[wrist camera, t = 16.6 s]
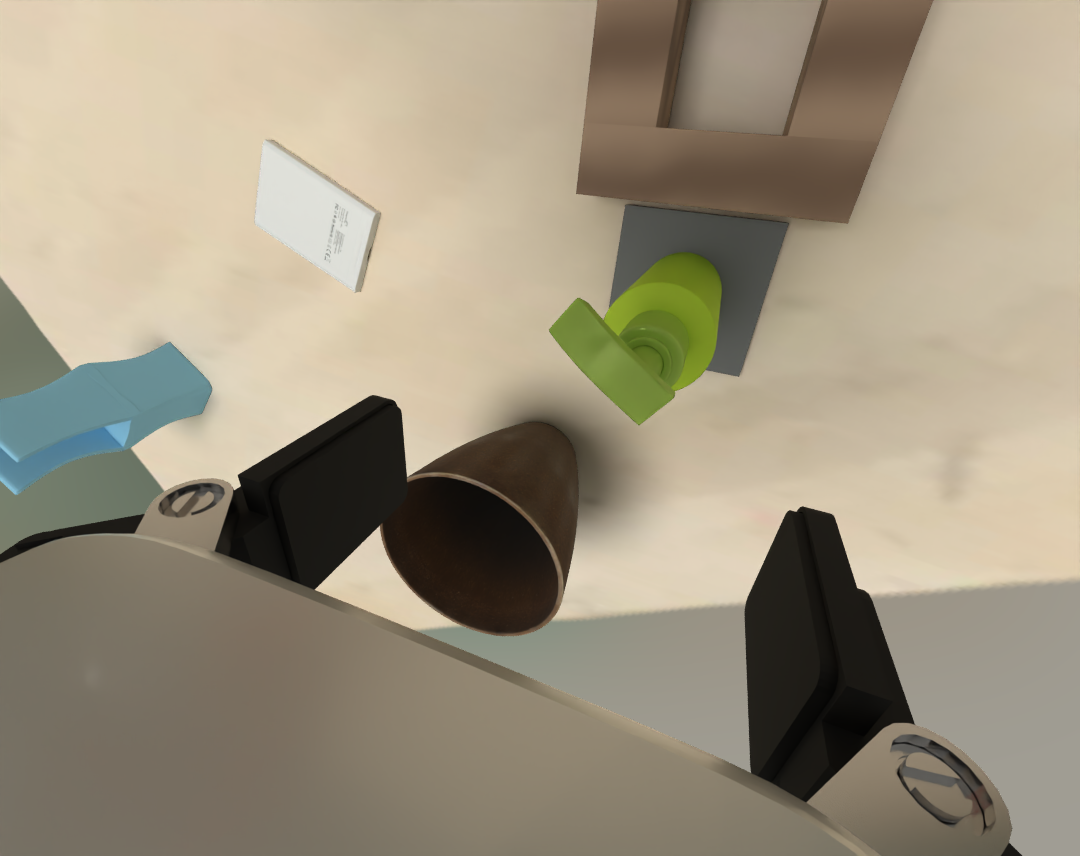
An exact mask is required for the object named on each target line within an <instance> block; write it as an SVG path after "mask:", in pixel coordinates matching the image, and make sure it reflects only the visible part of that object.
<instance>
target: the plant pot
mask: <svg viewBox="0 0 1080 856" xmlns="http://www.w3.org/2000/svg"><path fill="white" fill-rule="evenodd" d="M407 485H408V492H407V496H406V498H405V500H404V502H403V503H402V504H401V505H400V506H399V507H398V508H397V509H396V510H395V511H394V512H393V513H392V514H391V515H390V516H389V517H388V518H387V519H386V520H385V521H384V522H383V523H382V524H381V525H380V531H381V537H382V541H383V545H384V548H385V550H386V553H387V555H388V557H389V559H390V561H391V563H392V565H393V567H394V568H395V570H396V571H397V573H398V574H399V575H400V577H401V578H402V580H403V581H404V582H405V583H406V584H407V586H408V587H409V588H410V589H411V590H412V591H413V592H414V593H415V594H416V595H417V596H418V597H419V598H420V599H421V600H423V601H424V602H425V603H426V604H427V605H429V606H430V607H431V608H433V609H434V610H435V611H437V612H438V613H440V614H441V615H443V616H445V617H446V618H448V619H450V620H452V621H453V622H455V623H457V624H460V625H462V626H464V627H466V628H469V629H472V630H475V631H478V632H482V633H486V634H491V635H496V636H519V635H524V634H528V633H531V632H534V631H536V630H538V629H540V628H542V627H543V626H545V625H546V624H547V623H549V622H550V621H551V620H552V618H553V617H554V616H555V615H556V613H557V611H558V610H559V608H560V605H561V602H562V598H563V594H564V590H565V586H566V582H567V578H568V573H569V569H570V564H571V559H572V554H573V549H574V542H575V535H576V527H577V516H578V498H579V488H578V470H577V462H576V456H575V451H574V449H573V446H572V444H571V443H570V441H569V440H568V438H567V437H566V436H565V435H564V434H563V433H562V432H560V431H559V430H558V429H556V428H555V427H553V426H551V425H548V424H544V423H540V422H529V423H524V424H519V425H515V426H512V427H508V428H504V429H501V430H498V431H495V432H492V433H490V434H487V435H485V436H482V437H480V438H477V439H475V440H473V441H471V442H468V443H466V444H464V445H462V446H460V447H458V448H456V449H454V450H452V451H450V452H449V453H447V454H445V455H443V456H441V457H440V458H438V459H436V460H434V461H433V462H431V463H430V464H428V465H426V466H425V467H423V468H422V469H420V470H418V471H417V472H415V473H413V474H412V475H410V476H409V477H407Z"/></svg>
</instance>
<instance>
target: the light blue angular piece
mask: <svg viewBox="0 0 1080 856" xmlns="http://www.w3.org/2000/svg"><path fill="white" fill-rule="evenodd" d="M211 391H212V387H211V385H210V383H209V381H208V380H207V379H206V378H205V377H204V376H203V375H202V374H201V373H200V372H199V371H198V370H197V369H196V368H195V367H194V366H193V365H192V364H191V363H190V362H189V361H188V360H187V359H186V358H185V357H184V356H183V355H182V354H181V353H180V352H179V351H178V350H177V349H176V348H175V347H174V346H173V345H172V344H171V343H170V342H168V343H167V344H165V345H163V346H161V347H160V348H158V349H156V350H154V351H152V352H150V353H147V354H145V355H142V356H139V357H136V358H132V359H127V360H121V361H113V362H99V363H88V364H84V365H80V366H78V367H77V368H75V369H74V370H72V371H71V372H69V373H67V374H66V375H64V376H63V377H61V378H59V379H58V380H56V381H54V382H52V383H50V384H48V385H46V386H44V387H42V388H39V389H37V390H34V391H32V392H29V393H26V394H22V395H18V396H15V397H10V398H4V399H0V481H1V482H2V483H3V484H4V485H5V486H7V487H8V488H9V489H10V490H11V491H12V492H13V493H14V494H15V495H17V494H19V493H21V492H22V491H23V490H25V489H26V488H28V487H29V486H30V485H32V484H33V483H34V482H36V481H37V480H39V479H40V478H42V477H43V476H45V475H46V474H48V473H50V472H51V471H53V470H55V469H56V468H59V467H61V466H62V465H65V464H67V463H69V462H71V461H74V460H77V459H80V458H83V457H86V456H91V455H95V454H102V453H108V452H117V451H124V450H126V449H128V448H131V447H132V446H134V445H135V444H137V443H138V442H139V441H141V440H142V439H144V438H145V437H146V436H148V435H149V434H151V433H153V432H154V431H156V430H157V429H159V428H161V427H163V426H165V425H167V424H169V423H171V422H174V421H177V420H180V419H183V418H187V417H190V416H195V415H199V414H202V412H203V410H204V408H205V405H206V403H207V401H208V398H209V396H210V394H211Z"/></svg>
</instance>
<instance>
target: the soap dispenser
mask: <svg viewBox="0 0 1080 856" xmlns="http://www.w3.org/2000/svg"><path fill="white" fill-rule="evenodd" d="M721 294H722V285H721V280H720V277H719V274H718V272H717V270H716V269H715V267H714V266H713V265H712V264H711V263H710V262H709V261H708V260H707V259H705V258H704V257H702V256H700V255H697V254H694V253H689V252H679V253H674V254H670V255H668V256H665V257H663V258H662V259H660V260H659V261H657V262H656V263H655V264H654V265H653V266H652V267H651V268H650V269H649V270H647V271H646V272H645V273H644V274H643V275H642V276H641V277H640V278H639V279H638V280H637V281H636V282H635V283H634V284H633V285H631V286H630V287H629V288H628V289H627V290H626V291H625V292H624V293H623V294H622V295H621V296H620V297H619V298H618V299H617V300H616V301H615V302H614V303H613V304H612V306H611V307H610V308H609V310H608V312H607V313H606V316H605V318H604V320H603V319H602V318H601V317H600V316H599V315H598V314H597V313H596V311H595V310H594V309H593V308H592V307H591V306H590V304H589V303H587V302H586V301H584V300H582V299H580V298H577V299H576V300H575V301H574V302H573V303H572V304H571V305H570V306H569V308H568V309H567V310H566V311H565V312H564V313H563V314H562V315H561V316H560V318H559V319H558V320H557V321H556V322H555V323H554V324H553V325H552V327H551V328H550V329H549V332H550V333H551V335H552V336H553V337H554V339H555V340H556V341H557V342H558V344H559V345H560V346H561V347H562V349H563V350H564V351H565V352H566V353H567V355H568V356H569V357H570V358H571V359H572V361H573V362H574V363H575V364H576V365H577V366H578V367H579V368H580V369H581V371H582V372H583V373H584V374H585V375H586V376H587V377H588V378H589V379H590V380H591V381H592V382H593V383H594V384H595V385H596V386H597V387H598V388H599V389H600V390H601V391H602V392H603V393H604V394H605V395H606V396H607V397H609V398H610V399H611V400H612V401H613V402H614V403H615V404H616V405H617V406H618V407H619V408H620V409H621V410H622V411H624V412H625V413H626V414H627V415H628V416H629V417H630V418H631V419H632V420H633V421H634V422H636V423H637V424H638V425H640V424H641V423H643V422H644V421H645V420H647V419H648V418H649V417H650V416H652V415H653V414H654V413H655V412H657V411H658V410H659V409H660V408H662V407H663V406H664V405H666V404H667V403H668V402H669V401H671V400H672V399H673V398H674V396H675V391H677V390H679V389H682V388H684V387H686V386H688V385H689V384H691V383H693V382H694V381H695V380H696V379H698V378H699V377H700V376H701V375H702V374H703V372H704V371H705V370H706V369H707V367H708V365H709V364H710V362H711V360H712V358H713V355H714V352H715V348H716V341H717V332H718V322H719V313H720V303H721Z"/></svg>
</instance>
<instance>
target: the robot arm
mask: <svg viewBox="0 0 1080 856" xmlns="http://www.w3.org/2000/svg"><path fill="white" fill-rule="evenodd" d="M238 478H239V481H240V484H241V487H239V488H237V489H236V490H234V489H233V487H232V486H231V484H230V483H228V482H226V481H224V480H220V479H213V478H211V479H198V480H193V481H188V482H185V483H182V484H179V485H176V486H174V487H172V488H170V489H168V490H166V491H164V492H163V493H162V494H160V495H159V496H158V497H156V498H155V499H154V501H153V502H152V503H151V504H150V506H149V508H148V510H147V511H146V513H145V514H142V515H136V516H131V517H125V518H119V519H114V520H108V521H103V522H97V523H91V524H86V525H80V526H75V527H69V528H64V529H58V530H54V531H48V532H42V533H38V534H34V535H32V536H29V537H27V538H25V539H23V540H21V541H19V542H18V543H16V544H15V545H14V546H12V547H10V548H9V549H8V550H6V551H4V552H3V553H2V554H0V856H1022V855H1021V854H1020V853H1019V852H1018V851H1017V850H1016V849H1015V848H1014V847H1013V846H1012V845H1011V844H1010V843H1009V840H1010V836H1011V832H1012V825H1011V821H1010V816H1009V811H1008V809H1007V807H1006V805H1005V803H1004V801H1003V799H1002V797H1001V795H1000V793H999V791H998V790H997V788H996V787H995V786H994V784H993V783H992V782H991V780H990V779H989V778H988V776H987V775H986V774H985V773H984V771H983V770H982V769H981V768H980V767H979V766H978V765H977V764H976V763H975V762H974V761H973V760H972V759H971V758H970V757H969V756H968V755H967V754H965V753H964V752H963V751H962V750H961V749H959V748H958V747H956V746H955V745H954V744H952V743H951V742H950V741H948V740H947V739H945V738H944V737H942V736H940V735H938V734H936V733H934V732H932V731H930V730H928V729H926V728H923V727H920V726H917V725H915V724H914V721H913V718H912V715H911V712H910V709H909V706H908V703H907V700H906V697H905V694H904V692H903V689H902V686H901V683H900V680H899V677H898V674H897V672H896V668H895V665H894V663H893V660H892V657H891V654H890V651H889V648H888V645H887V642H886V639H885V636H884V634H883V631H882V628H881V625H880V622H879V619H878V616H877V613H876V610H875V607H874V604H873V601H872V599H871V597H870V595H869V594H868V593H867V592H866V591H864V590H861V589H858V588H857V586H856V583H855V580H854V577H853V573H852V570H851V567H850V564H849V561H848V558H847V555H846V551H845V548H844V545H843V542H842V539H841V536H840V533H839V529H838V526H837V523H836V520H835V517H834V516H833V515H832V514H830V513H826V512H822V511H818V510H814V509H810V508H806V507H803V506H802V507H800V508H799V509H798V510H797V512H794V511H791V510H789V511H788V512H787V513H786V515H785V517H784V519H783V521H782V523H781V526H780V528H779V530H778V532H777V534H776V537H775V539H774V541H773V543H772V545H771V547H770V550H769V552H768V554H767V556H766V558H765V561H764V563H763V565H762V567H761V569H760V572H759V574H758V576H757V578H756V580H755V583H754V585H753V587H752V589H751V591H750V593H749V596H748V598H747V601H746V606H745V636H746V637H745V638H746V664H747V690H748V715H749V716H748V717H749V741H750V742H749V743H750V767H751V773H750V772H747V771H746V770H743V769H741V768H739V767H737V766H735V765H733V764H731V763H729V762H727V761H725V760H723V759H721V758H718V757H716V756H714V755H712V754H709V753H707V752H705V751H702V750H700V749H698V748H695V747H693V746H691V745H689V744H686V743H684V742H682V741H679V740H677V739H674V738H672V737H670V736H667V735H665V734H663V733H661V732H658V731H656V730H654V729H652V728H649V727H647V726H645V725H642V724H640V723H638V722H635V721H633V720H630V719H628V718H626V717H624V716H621V715H619V714H616V713H614V712H611V711H609V710H607V709H604V708H602V707H600V706H597V705H595V704H592V703H590V702H587V701H585V700H582V699H580V698H578V697H575V696H573V695H571V694H568V693H565V692H563V691H561V690H558V689H556V688H554V687H551V686H549V685H546V684H544V683H542V682H539V681H537V680H534V679H532V678H529V677H527V676H525V675H522V674H520V673H517V672H515V671H512V670H510V669H508V668H505V667H503V666H500V665H498V664H496V663H493V662H491V661H488V660H486V659H483V658H481V657H478V656H476V655H474V654H471V653H469V652H466V651H464V650H461V649H459V648H456V647H454V646H452V645H449V644H447V643H444V642H442V641H439V640H437V639H434V638H432V637H429V636H427V635H425V634H422V633H420V632H417V631H415V630H412V629H410V628H407V627H405V626H402V625H400V624H398V623H395V622H393V621H390V620H388V619H385V618H383V617H380V616H378V615H375V614H373V613H370V612H368V611H366V610H363V609H361V608H358V607H356V606H353V605H351V604H348V603H346V602H343V601H341V600H338V599H336V598H333V597H331V596H328V595H326V594H323V593H321V592H318V591H316V590H315V589H316V588H317V587H318V586H319V585H320V584H321V583H322V582H323V581H324V580H325V579H326V578H327V577H328V576H329V575H330V574H331V573H332V572H333V571H334V570H335V569H336V568H337V567H338V566H339V565H340V564H341V563H342V562H343V561H344V560H345V559H346V558H347V557H348V556H349V555H350V554H351V553H352V552H353V551H354V550H355V549H356V548H357V547H358V546H359V545H360V544H361V543H362V542H363V541H364V540H365V539H366V538H367V537H369V536H370V535H371V534H372V533H373V532H374V531H375V530H376V529H377V528H378V527H379V526H380V525H381V524H382V523H383V522H384V521H385V520H386V519H387V518H388V517H389V516H390V515H391V514H392V513H393V512H394V511H395V510H396V509H397V508H398V507H399V506H400V505H401V504H402V503H403V502H404V500H405V498H406V496H407V492H408V485H407V473H406V461H405V449H404V436H403V424H402V413H401V410H400V408H399V407H397V404H396V402H395V401H393V400H391V399H387V398H383V397H379V396H375V395H372V396H369V397H367V398H366V399H364V400H362V401H361V402H359V403H357V404H356V405H354V406H352V407H351V408H349V409H347V410H346V411H344V412H342V413H341V414H339V415H337V416H336V417H334V418H332V419H331V420H329V421H327V422H326V423H324V424H322V425H321V426H319V427H317V428H316V429H314V430H312V431H311V432H309V433H307V434H306V435H304V436H302V437H300V438H299V439H297V440H295V441H294V442H292V443H290V444H289V445H287V446H285V447H284V448H282V449H280V450H279V451H277V452H275V453H274V454H272V455H270V456H269V457H267V458H265V459H264V460H262V461H260V462H259V463H257V464H255V465H254V466H252V467H250V468H249V469H247V470H245V471H244V472H242V473H240V474H239V475H238Z"/></svg>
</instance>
